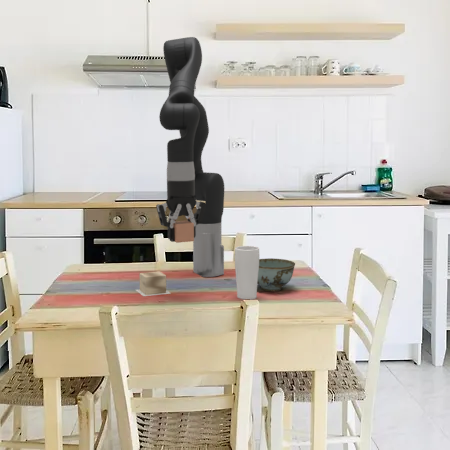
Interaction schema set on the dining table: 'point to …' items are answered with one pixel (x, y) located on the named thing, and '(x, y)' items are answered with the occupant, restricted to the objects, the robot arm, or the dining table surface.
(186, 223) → the rust block
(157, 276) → the beech block
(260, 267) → the bowl
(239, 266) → the drinking glass
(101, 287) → the dining table surface
